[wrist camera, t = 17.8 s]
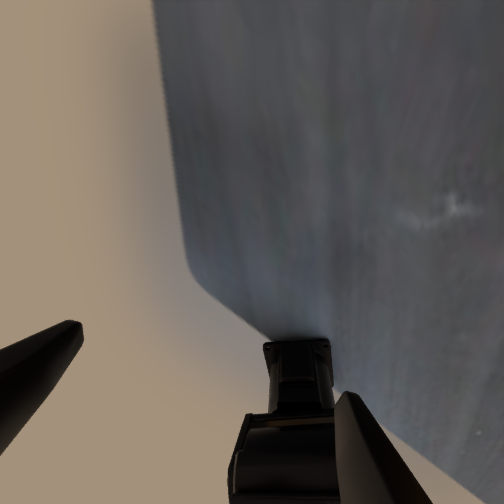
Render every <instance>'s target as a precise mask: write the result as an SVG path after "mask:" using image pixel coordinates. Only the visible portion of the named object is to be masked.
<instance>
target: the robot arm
mask: <svg viewBox="0 0 504 504" xmlns="http://www.w3.org/2000/svg"><path fill="white" fill-rule="evenodd" d="M83 342H84V335H83V327H82V324H81V323H80V322H78V321H74V320H66V321H63V322H61V323H59V324H57V325H54V326H52V327H50V328H47V329H45V330H43V331H41V332H38V333H36V334H34V335H32V336H29V337H27V338H25V339H23V340H21V341H18V342H16V343H14V344H12V345H9V346H7V347H5V348H3V349H0V456H1V454H2V453H3V452H4V451H5V449H6V448H7V447H8V446H9V444H10V443H11V442H12V441H13V439H14V438H15V437H16V435H17V434H18V433H19V432H20V431H21V429H22V428H23V427H24V426H25V424H26V423H27V422H28V421H29V419H30V418H31V417H32V416H33V414H34V413H35V412H36V411H37V409H38V408H39V407H40V405H41V404H42V403H43V402H44V401H45V399H46V398H47V397H48V395H49V394H50V393H51V391H52V390H53V389H54V387H55V386H56V384H57V383H58V381H59V380H60V378H61V377H62V375H63V374H64V372H65V371H66V369H67V368H68V366H69V365H70V363H71V362H72V360H73V359H74V357H75V356H76V354H77V353H78V351H79V349H80V348H81V346H82V344H83ZM323 344H326V345H323ZM267 347H269V348H267ZM263 351H264V356H265V360H266V364H267V369H268V373H269V377H270V390H269V408H268V413H265V414H252V413H249V414H246V415H245V418H244V421H243V424H242V426H241V430H240V433H239V436H238V439H237V442H236V445H235V448H234V452H233V455H232V459H231V461H230V464H229V467H228V478H227V486H228V495H229V504H433V503H432V502H431V500H430V499H429V497H428V496H427V494H426V493H425V491H424V490H423V488H422V487H421V486H420V484H419V483H418V481H417V480H416V478H415V477H414V475H413V474H412V472H411V471H410V470H409V468H408V466H407V465H406V464H405V462H404V461H403V459H402V458H401V456H400V455H399V453H398V452H397V450H396V449H395V448H394V446H393V444H392V443H391V442H390V440H389V439H388V437H387V436H386V434H385V433H384V431H383V430H382V428H381V427H380V426H379V424H378V423H377V421H376V420H375V418H374V417H373V415H372V414H371V412H370V411H369V409H368V408H367V406H366V405H365V403H364V402H363V401H362V399H361V398H360V396H359V395H358V394H356V393H353V392H349V391H345V392H343V394H342V395H341V397H340V398H339V400H338V401H337V403H336V405H335V401H334V396H333V391H332V387H333V386H334V382H333V369H332V357H331V345H330V342H329V340H327V339H314V340H296V341H278V342H266V343H264V344H263Z"/></svg>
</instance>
